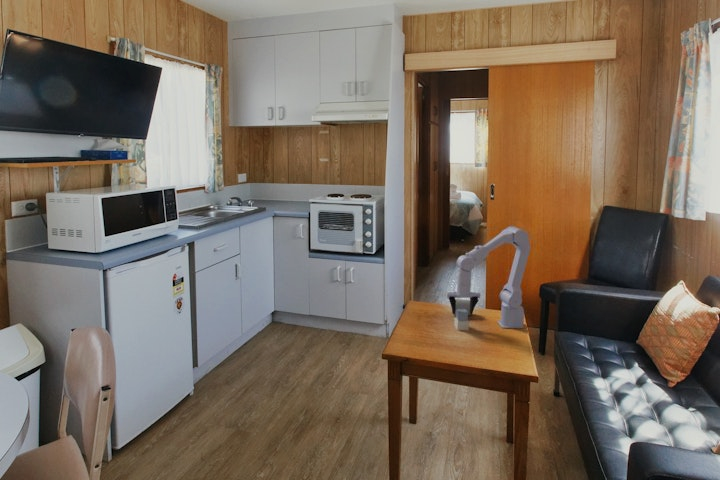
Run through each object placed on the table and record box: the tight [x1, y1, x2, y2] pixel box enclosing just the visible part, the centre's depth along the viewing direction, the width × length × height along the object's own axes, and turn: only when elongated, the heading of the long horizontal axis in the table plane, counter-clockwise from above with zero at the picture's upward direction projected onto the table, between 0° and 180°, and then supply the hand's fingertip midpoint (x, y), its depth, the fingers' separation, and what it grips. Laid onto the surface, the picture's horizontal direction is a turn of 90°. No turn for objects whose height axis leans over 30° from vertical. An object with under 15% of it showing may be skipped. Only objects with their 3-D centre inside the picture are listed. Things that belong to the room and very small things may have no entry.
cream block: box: [453, 317, 470, 331], centre depth 223 cm, size 5×5×4 cm
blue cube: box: [455, 309, 469, 321], centre depth 222 cm, size 4×4×4 cm
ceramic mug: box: [452, 298, 472, 316], centre depth 240 cm, size 11×8×8 cm
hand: (462, 313), depth 222 cm, fingers open, 7 cm apart
